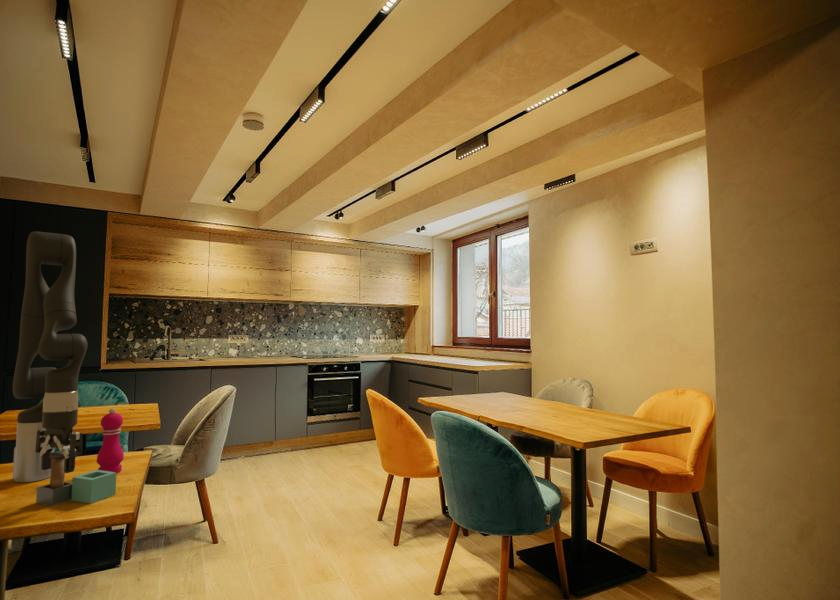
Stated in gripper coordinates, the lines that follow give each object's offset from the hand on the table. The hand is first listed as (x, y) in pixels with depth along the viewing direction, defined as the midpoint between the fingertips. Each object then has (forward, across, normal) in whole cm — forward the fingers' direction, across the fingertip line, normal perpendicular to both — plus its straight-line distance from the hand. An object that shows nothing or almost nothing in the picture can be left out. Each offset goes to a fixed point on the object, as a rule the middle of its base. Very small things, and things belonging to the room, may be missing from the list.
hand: (57, 470), depth 126 cm
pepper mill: (+8, -10, +23) cm, 27 cm away
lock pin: (+8, 0, 0) cm, 8 cm away
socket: (+8, +7, +5) cm, 12 cm away
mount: (+8, 0, 0) cm, 8 cm away
